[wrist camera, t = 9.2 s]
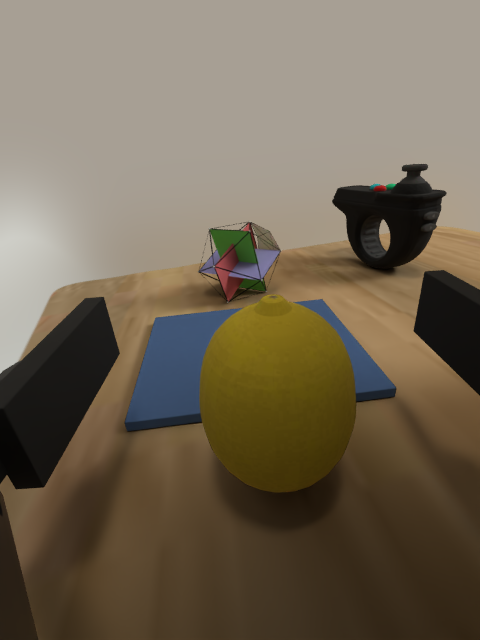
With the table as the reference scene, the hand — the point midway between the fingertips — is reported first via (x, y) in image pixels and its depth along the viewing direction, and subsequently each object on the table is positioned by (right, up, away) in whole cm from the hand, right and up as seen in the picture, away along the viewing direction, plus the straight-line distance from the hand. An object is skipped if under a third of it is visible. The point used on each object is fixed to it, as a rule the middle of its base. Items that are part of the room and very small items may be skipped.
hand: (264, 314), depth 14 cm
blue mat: (0, -2, +8) cm, 9 cm away
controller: (+14, +6, +23) cm, 27 cm away
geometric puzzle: (-1, +2, +18) cm, 18 cm away
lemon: (+1, -7, 0) cm, 7 cm away
